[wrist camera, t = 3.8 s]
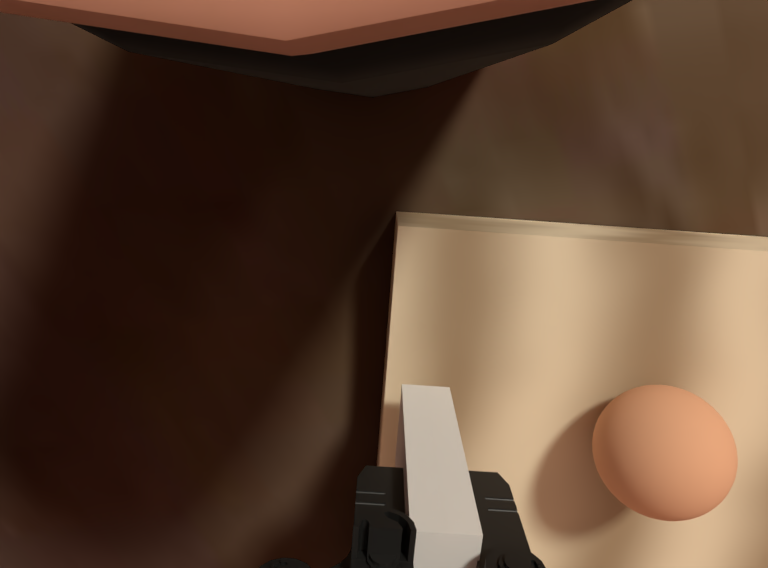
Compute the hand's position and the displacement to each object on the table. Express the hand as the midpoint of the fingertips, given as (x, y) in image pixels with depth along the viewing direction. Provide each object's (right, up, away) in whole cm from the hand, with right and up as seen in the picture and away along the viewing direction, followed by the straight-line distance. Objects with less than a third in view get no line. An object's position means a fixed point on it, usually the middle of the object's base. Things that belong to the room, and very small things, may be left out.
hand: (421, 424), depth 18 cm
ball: (+7, -1, -1) cm, 7 cm away
